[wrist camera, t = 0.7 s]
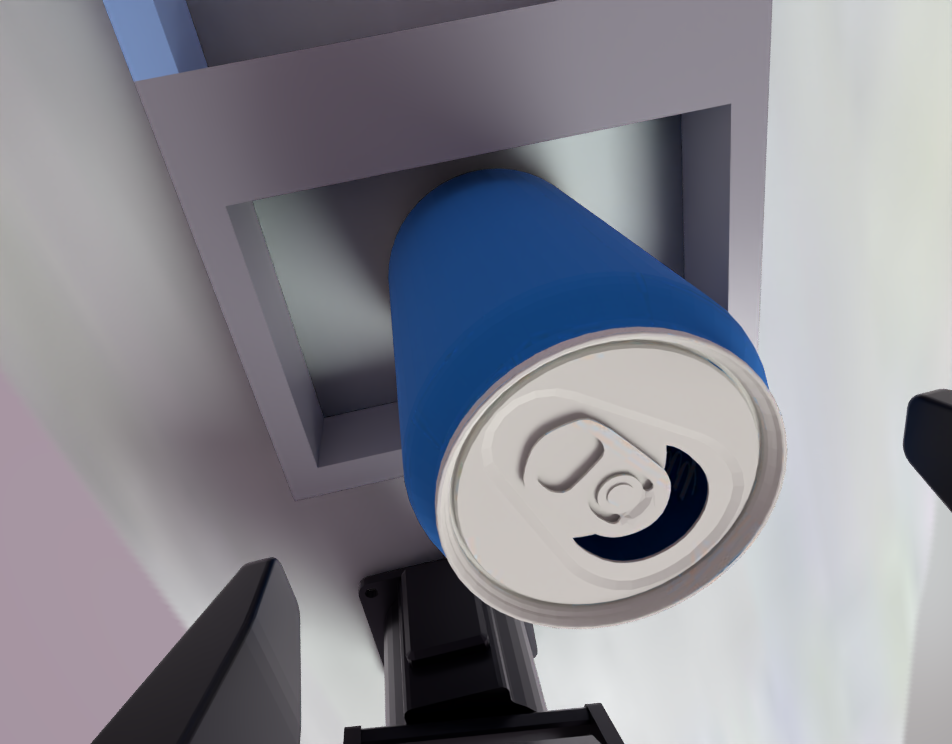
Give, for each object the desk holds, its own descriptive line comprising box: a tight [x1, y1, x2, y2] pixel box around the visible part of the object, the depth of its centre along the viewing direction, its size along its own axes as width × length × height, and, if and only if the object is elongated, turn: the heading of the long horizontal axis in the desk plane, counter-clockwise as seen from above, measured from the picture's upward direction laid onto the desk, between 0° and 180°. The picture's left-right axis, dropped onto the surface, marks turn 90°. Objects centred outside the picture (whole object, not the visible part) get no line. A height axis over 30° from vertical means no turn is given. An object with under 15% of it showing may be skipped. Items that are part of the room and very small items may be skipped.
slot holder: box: [103, 0, 772, 501], centre depth 16 cm, size 21×15×4 cm
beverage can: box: [388, 168, 787, 629], centre depth 15 cm, size 6×6×12 cm
